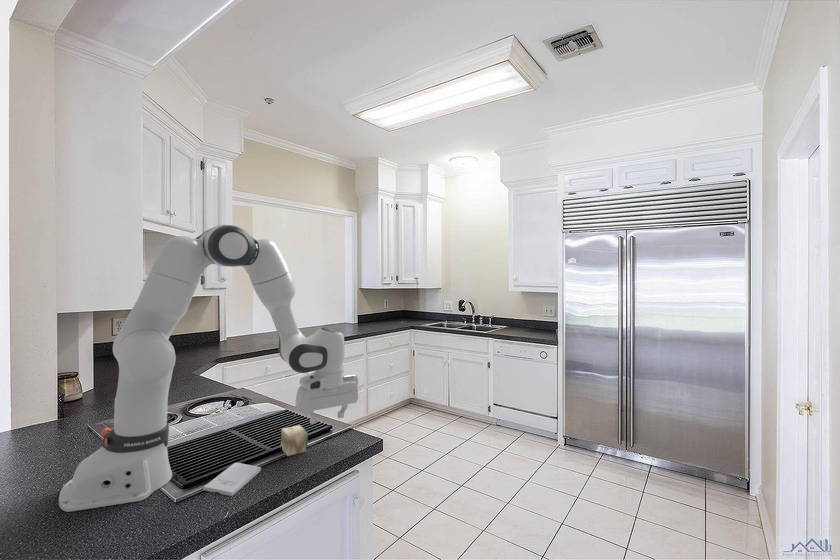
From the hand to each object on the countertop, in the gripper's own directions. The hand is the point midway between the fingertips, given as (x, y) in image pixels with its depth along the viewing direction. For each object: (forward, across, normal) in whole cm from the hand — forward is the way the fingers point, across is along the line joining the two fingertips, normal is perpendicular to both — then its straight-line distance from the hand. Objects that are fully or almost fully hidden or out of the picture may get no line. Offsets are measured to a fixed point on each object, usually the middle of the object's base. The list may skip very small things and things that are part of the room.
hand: (327, 420), depth 133 cm
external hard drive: (+8, +30, +9) cm, 32 cm away
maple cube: (+4, +8, 0) cm, 9 cm away
